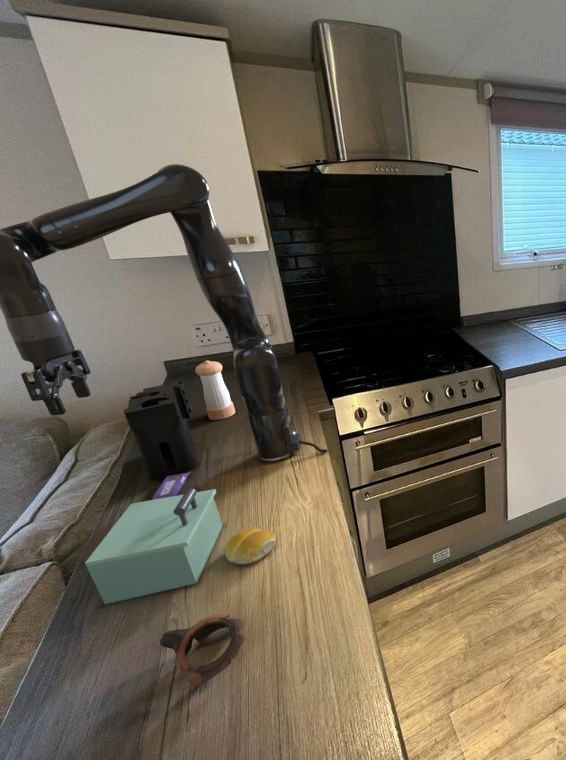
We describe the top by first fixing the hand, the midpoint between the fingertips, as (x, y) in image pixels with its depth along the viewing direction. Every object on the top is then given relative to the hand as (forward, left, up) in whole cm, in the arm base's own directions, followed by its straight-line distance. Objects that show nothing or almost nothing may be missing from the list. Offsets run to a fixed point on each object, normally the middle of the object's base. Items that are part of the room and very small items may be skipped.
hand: (72, 405), depth 94 cm
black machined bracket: (-7, -18, -27) cm, 33 cm away
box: (-19, +24, -27) cm, 41 cm away
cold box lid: (-20, +24, -17) cm, 36 cm away
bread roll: (-34, +26, -27) cm, 51 cm away
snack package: (-11, -2, -27) cm, 29 cm away
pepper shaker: (-10, -43, -27) cm, 51 cm away
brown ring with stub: (-33, +49, -27) cm, 65 cm away
